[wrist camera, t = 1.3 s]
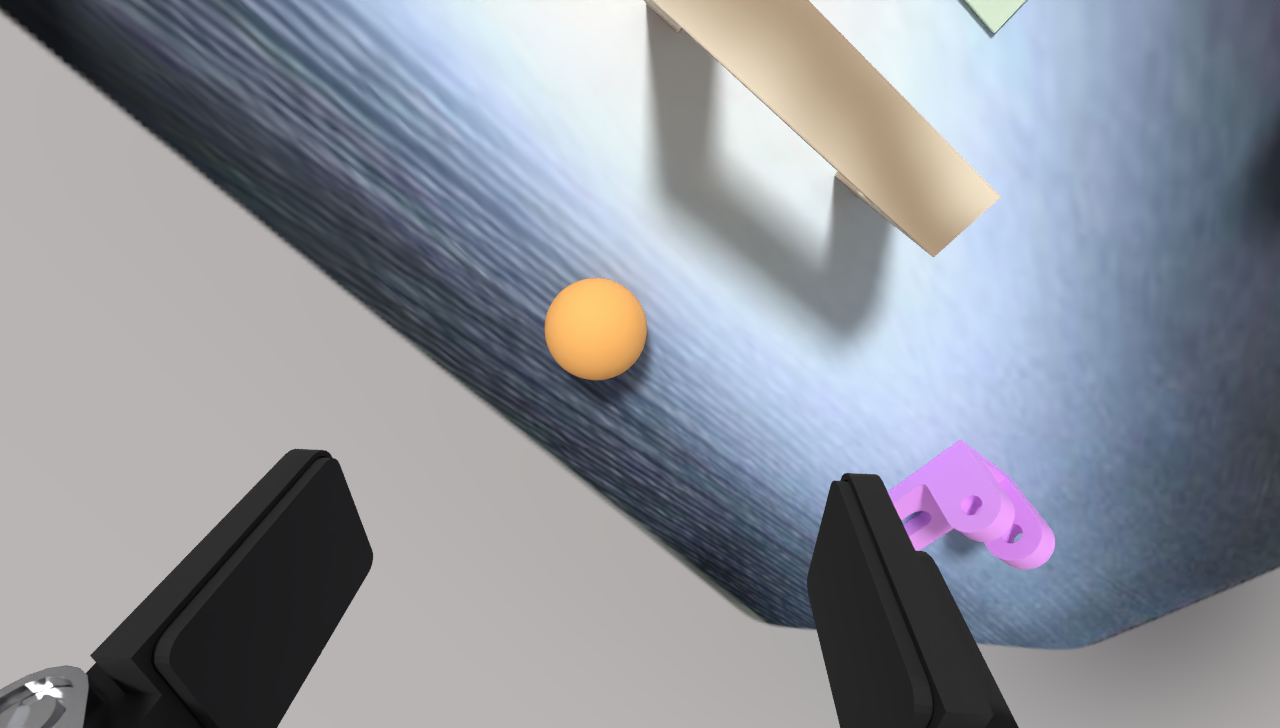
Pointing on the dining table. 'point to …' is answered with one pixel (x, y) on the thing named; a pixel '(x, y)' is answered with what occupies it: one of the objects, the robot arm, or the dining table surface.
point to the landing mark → (994, 11)
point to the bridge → (840, 111)
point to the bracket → (973, 507)
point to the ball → (595, 329)
